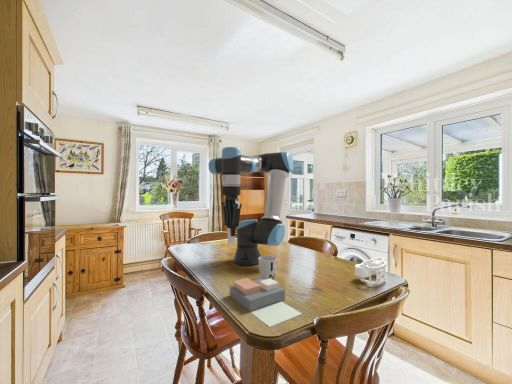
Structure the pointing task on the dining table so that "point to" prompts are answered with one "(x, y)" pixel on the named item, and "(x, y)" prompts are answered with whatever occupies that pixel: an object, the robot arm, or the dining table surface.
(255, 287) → the tile
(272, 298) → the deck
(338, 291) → the dining table surface
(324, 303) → the dining table surface
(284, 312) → the mat
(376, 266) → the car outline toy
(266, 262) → the cup
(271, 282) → the small tile
